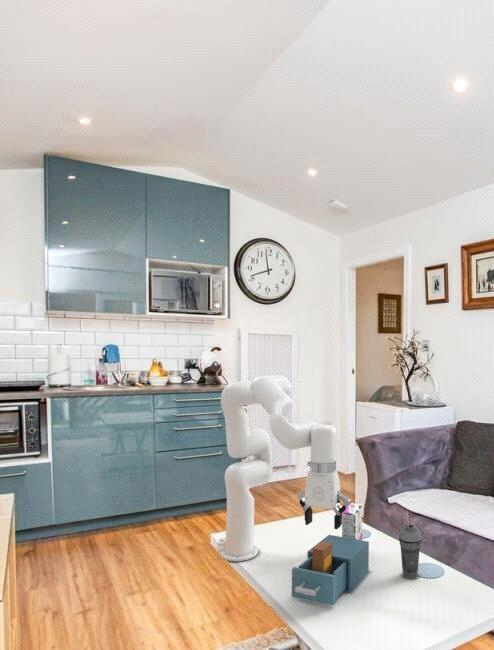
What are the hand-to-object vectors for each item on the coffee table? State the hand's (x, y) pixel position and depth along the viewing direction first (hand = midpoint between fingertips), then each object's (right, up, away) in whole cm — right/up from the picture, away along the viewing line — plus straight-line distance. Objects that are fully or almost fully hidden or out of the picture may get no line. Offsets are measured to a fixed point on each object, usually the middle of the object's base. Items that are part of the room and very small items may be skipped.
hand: (323, 525), depth 146 cm
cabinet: (+4, -20, +9) cm, 23 cm away
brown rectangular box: (0, -18, -1) cm, 18 cm away
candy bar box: (+8, -22, +25) cm, 34 cm away
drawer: (-1, -19, -3) cm, 19 cm away
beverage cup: (+27, -21, +10) cm, 36 cm away
